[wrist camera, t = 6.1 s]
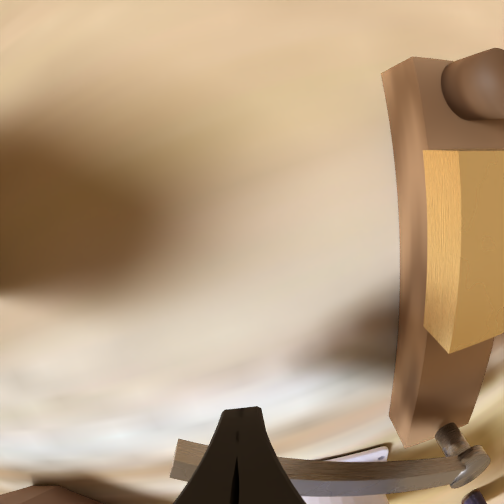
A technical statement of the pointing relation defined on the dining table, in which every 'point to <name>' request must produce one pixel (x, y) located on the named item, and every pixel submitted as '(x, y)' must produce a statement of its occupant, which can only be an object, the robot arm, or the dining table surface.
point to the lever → (365, 469)
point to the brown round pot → (45, 496)
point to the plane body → (415, 227)
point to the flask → (474, 498)
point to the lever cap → (464, 246)
